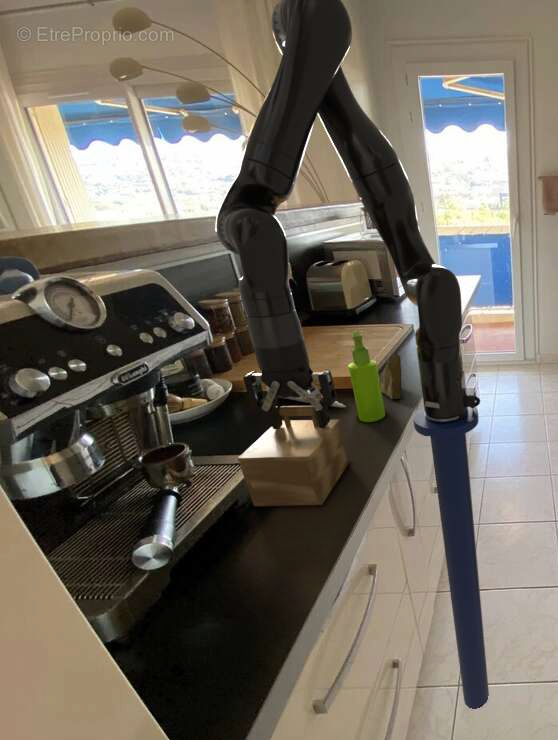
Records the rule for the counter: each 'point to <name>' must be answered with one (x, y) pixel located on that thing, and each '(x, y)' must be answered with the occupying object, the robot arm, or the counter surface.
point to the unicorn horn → (335, 404)
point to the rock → (392, 378)
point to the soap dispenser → (365, 382)
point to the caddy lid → (291, 438)
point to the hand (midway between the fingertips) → (301, 426)
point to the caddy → (297, 476)
